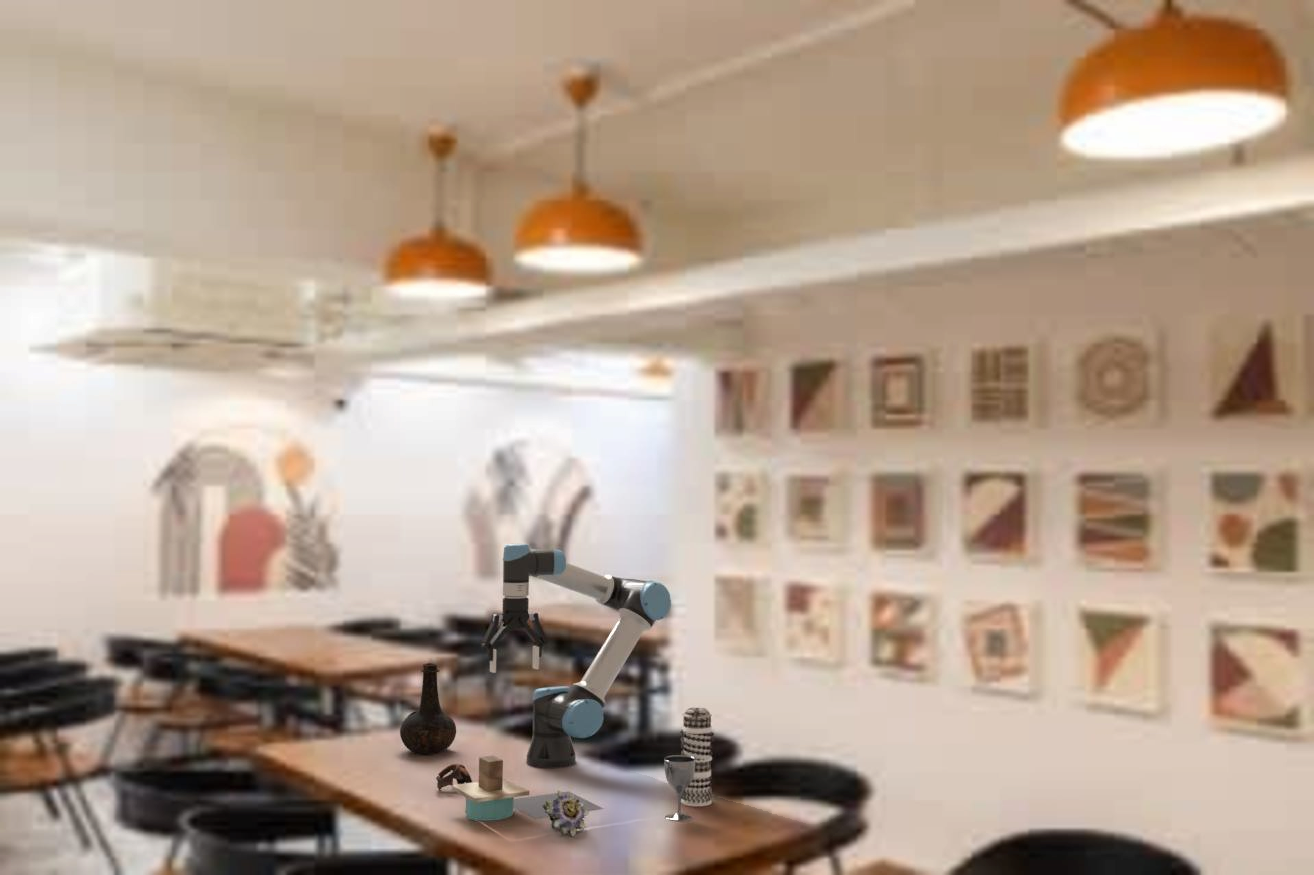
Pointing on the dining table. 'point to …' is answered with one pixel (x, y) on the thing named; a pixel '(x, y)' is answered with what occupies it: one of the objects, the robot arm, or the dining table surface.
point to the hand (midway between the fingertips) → (514, 670)
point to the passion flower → (566, 813)
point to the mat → (535, 804)
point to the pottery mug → (453, 776)
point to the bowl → (490, 809)
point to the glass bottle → (428, 720)
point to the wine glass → (679, 780)
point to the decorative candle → (698, 755)
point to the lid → (490, 783)
